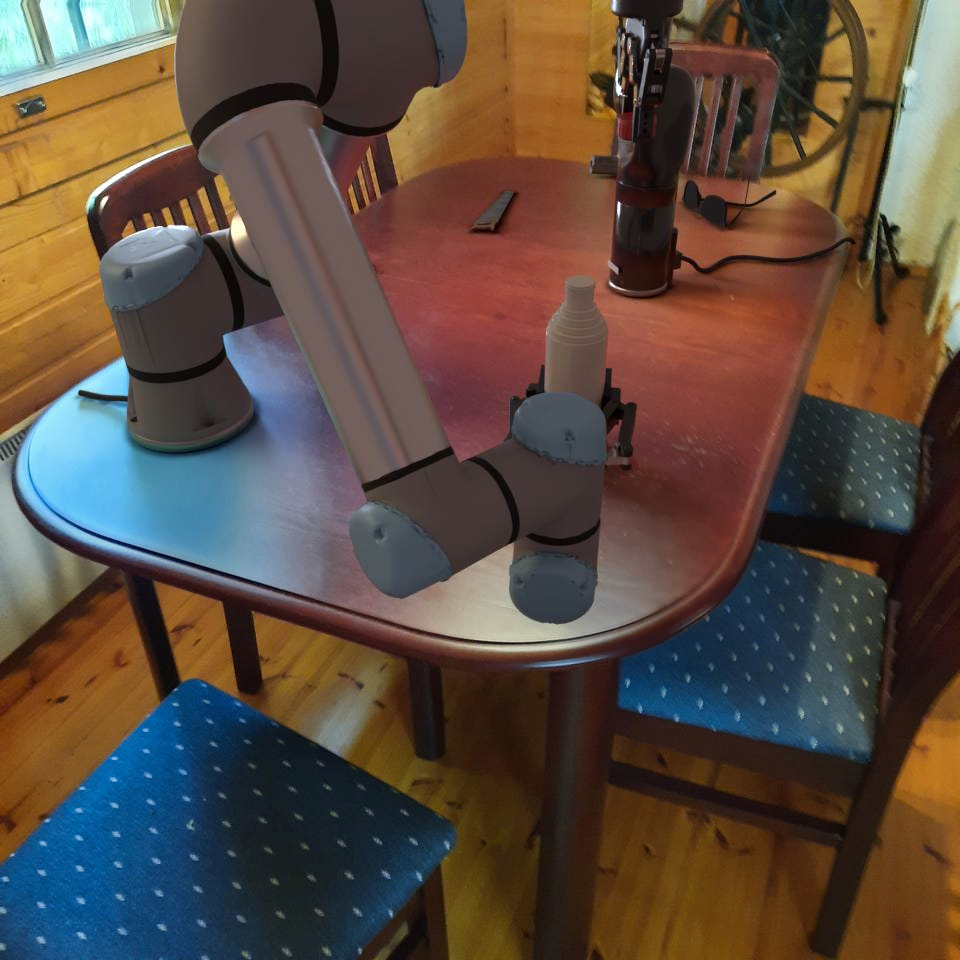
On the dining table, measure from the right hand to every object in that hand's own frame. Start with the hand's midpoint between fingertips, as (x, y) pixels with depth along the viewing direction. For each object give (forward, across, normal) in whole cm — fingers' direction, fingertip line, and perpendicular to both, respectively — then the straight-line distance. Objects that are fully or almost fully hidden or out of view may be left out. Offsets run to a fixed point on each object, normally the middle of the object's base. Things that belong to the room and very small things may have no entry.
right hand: (635, 135), depth 98 cm
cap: (-2, 0, 0) cm, 2 cm away
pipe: (+31, -83, +21) cm, 91 cm away
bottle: (+31, +16, -9) cm, 36 cm away
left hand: (+24, +11, -8) cm, 28 cm away
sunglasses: (+31, -58, +36) cm, 75 cm away
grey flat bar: (+31, -65, -8) cm, 73 cm away
